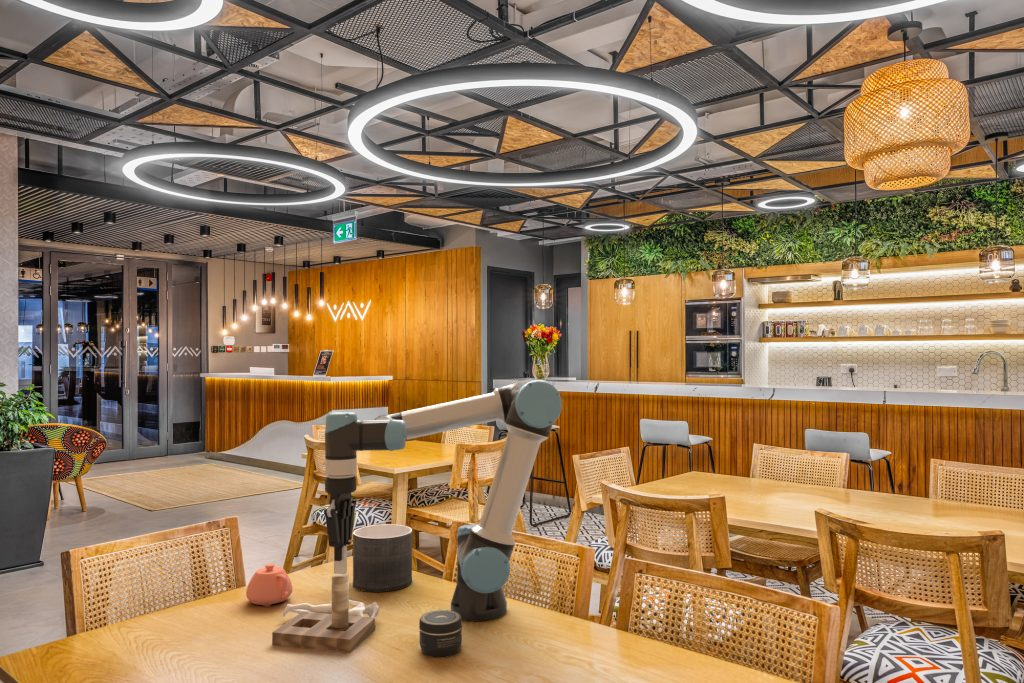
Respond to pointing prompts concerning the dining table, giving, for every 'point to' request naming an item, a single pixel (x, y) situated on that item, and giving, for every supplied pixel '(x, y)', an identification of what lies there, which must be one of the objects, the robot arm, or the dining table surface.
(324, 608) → the figurine
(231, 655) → the dining table surface
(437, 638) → the jar
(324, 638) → the board
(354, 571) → the planter
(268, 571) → the sugar bowl
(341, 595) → the leg
